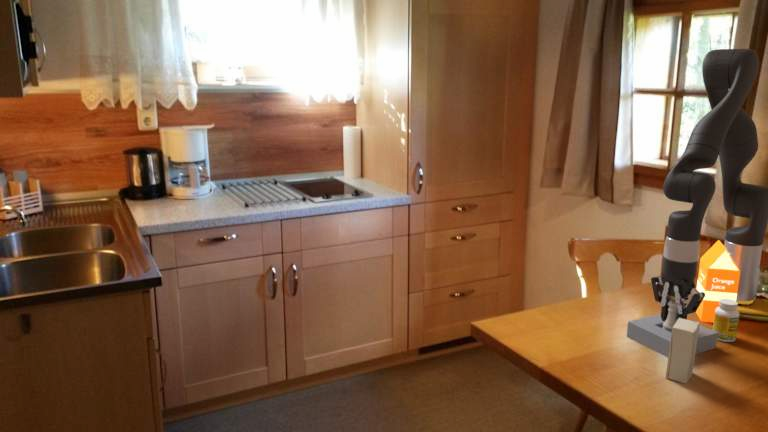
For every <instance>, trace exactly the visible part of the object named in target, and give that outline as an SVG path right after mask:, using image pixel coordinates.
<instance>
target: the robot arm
mask: <svg viewBox="0 0 768 432" xmlns="http://www.w3.org/2000/svg"><path fill="white" fill-rule="evenodd" d="M701 69H702V70H701V73H702V80H703V84H704V88H705V89H704V90H705V92H706V95H707V99H708V103H709V107H710V111H709V112H707V113H706V114H705V115H704V116H703V117H702V118H701V119H699V121H697V123H696V124H695V125H694V127H693V129H692V132H691V133H690V136H689V139H688V140H687V141H688V142H687V144H686V147H685V150H684V151H683V153H682V155H681V156H680V157H679V159H678V160H677V162H676V163H675V164H674V166H673V167H672V168H671V170H670V171H669V172H668V174H667V175H666V177H665V178H664V182H663V185H662V187H663V193H664V195H665V197H666V198H667V199H668V200H672V201H675V202H681V203H682V202H683V203H689V204H692V206H691V208H690V209H689V210H676V211H675V210H674V211H673V212H671V213H670V214H669V215H668V219H667V229H666V237H665V241H664V245H663V255H662V263H661V264H662V265H661V273H662V275H657V276H652V277H651V278H650V281H651V286H652V287H651V288H652V293H653V296H654V301H655V302H656V303H657V302H659V303H660V306H661V308H660V311H661V312H660V313H661V318H662V321H664V322H665V320H666V319H667V316H668V312H669V311H668V308H669V305H668V302H669V301H670V300H671V299H673V300H674V299H675V300H676V304H677V307H678V313H677V318H676V321H677V319H678V318H683V319H687V320H688V315H690V314H694V313H696V311H697V309H698V307H699V306H700V304H701V302H702V300H703V299H704V297H705V293H704V292H699V291H698V290H696V289H697V288H696V284H695V279H696V277H697V275H698V274H697V273H698V266H699V260H700V251H701V250H700V249H701V247H700V245H701V242H700V241H701V232H702V225H703V221H704V218H705V214H706V212H707V210H708V207H709V205H710V204H711V201H712V200H713V197H714V195H715V192H716V188H717V186H716V185H717V184H716V181H715V179H714V177H713V176H712V175H711V174H708V173H706V172H705V173H704V172H696V171H697V170H701V169H709V168H712V167H713V166H715V164H716V162H717V161H718V159H719V163H720V164H719V166H720V170H721V182H722V184H721V185H722V201H723V208H724V210H725V212H726V213H727V214H729V215H731V216H735V217H740V218H746V219H750V220H749V223H748V224H747V225H743V226H735V227H734V226H733V227H730V228H728V229H726V232H725V237H724V244H723V245H724V246H725V248H726V249H727V251H728V253H729V255H730V256H731V258H732V259H733V261H734V263H735V264H736V266H737V267H738V269H739V270H740V277H739V284H738V291H737V299H736V301H751V300H754V298H756V299H757V294H758V287H759V280H760V275H761V268H760V265H761V261H762V260H761V259H762V252H763V245H764V239H765V235H766V232H767V227H768V186H766V185H760V184H759V185H757V184H752V183H751V184H750V183H746V182H743V181H741V174H742V172H743V171H744V169H746V167H747V166H748V165H749V164H750V163H751V162H752V161H753V159H754V158H755V157H756V155H757V152H758V150H759V138H758V132H757V131H758V130H757V126H756V123H755V122H754V120H753V119H752V118H751V116H750V115H749V114H748V113H747V112H746V111H745V110H744V109H743V108H742V106H743V104H744V102H745V100H746V99H747V96H748V95H749V93H750V91H751V90H752V87H753V86H754V84H755V81H756V80H757V79H756V78H757V77H758V74H759V69H760V59H759V55H758V52H757V51H756V50H754V49H751V48H727V49H725V48H724V49H723V48H721V49H720V48H719V49H713V50H710V51H708V52H707V53H706V54H705V55H704V58H703V62H702V68H701ZM754 301H755V300H754Z"/></svg>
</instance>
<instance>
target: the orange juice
mask: <svg viewBox="0 0 768 432" xmlns="http://www.w3.org/2000/svg"><path fill="white" fill-rule="evenodd" d="M698 266H699V268H698V274H697V275H698V276H697V281H696V288H695V289H696V290H698V291H699V292H704V293H705V297H704V299H703V300H702V302H701V304H700V306H699V307H698V309H697V311H696V312H695V314H696V315H697V316H698V319H699V320H700V322H702V323H704V322H705V323H713V322H714V314H715V309H716V308H717V307H720V306H719V301H720V299H731V300H734V301H736V299H737V291H738V284H739V277H740V270H739V269H738V267H737V266H736V264H735V263H734V261H733V259H732V258H731V256H730V255H729V253H728V251H727V249H726V248H725V246H724V244H723V243H722V242H721V240H719V239H718V240H717V241H715V243H714V244H713V245H712V246H711V247H710V248H709V249H707V251H706V252H705V253H704V254H703V255H702V256H701V257H699V265H698Z"/></svg>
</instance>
